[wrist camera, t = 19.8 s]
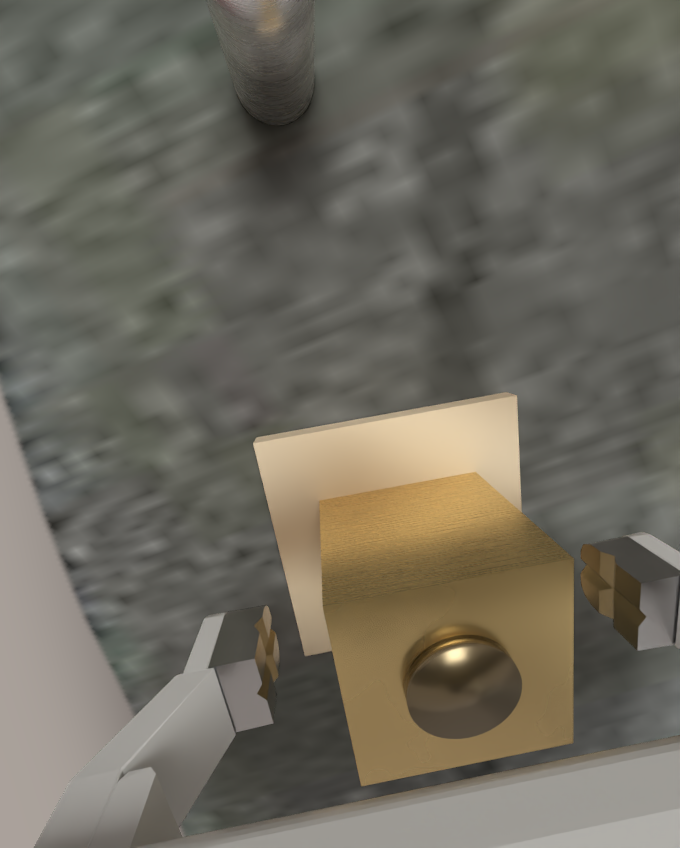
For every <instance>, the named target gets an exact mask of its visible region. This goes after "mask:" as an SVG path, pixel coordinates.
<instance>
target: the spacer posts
mask: <svg viewBox="0 0 680 848" xmlns="http://www.w3.org/2000/svg"><path fill="white" fill-rule="evenodd" d="M206 2H207V5H208V8H209V11H210V14H211V17H212V20H213V23H214V26H215V29H216V32H217V35H218V38H219V41H220V44H221V47H222V50H223V53H224V56H225V60H226V63H227V66H228V69H229V72H230V75H231V78H232V81H233V84H234V87H235V90H236V93H237V95H238V98H239V100H240V102H241V103H242V105H243V106H244V108H245V109H246V110H247V111H248V112H249V113H250V114H251V115H252V116H253V117H254V118H256V119H257V120H259V121H261V122H263V123H266V124H269V125H277V126H278V125H285V124H288V123H291V122H293V121H295V120H296V119H297V118H299V117H300V116H301V115H302V114H303V113H304V112H305V110H306V109H307V107H308V105H309V103H310V101H311V98H312V95H313V91H314V9H315V0H206Z"/></svg>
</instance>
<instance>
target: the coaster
mask: <svg viewBox="0 0 680 848" xmlns="http://www.w3.org/2000/svg"><path fill="white" fill-rule="evenodd" d="M253 445H254V449H255V453H256V457H257V461H258V465H259V469H260V473H261V477H262V482H263V486H264V490H265V494H266V498H267V502H268V506H269V510H270V514H271V518H272V523H273V527H274V531H275V535H276V539H277V543H278V547H279V551H280V555H281V560H282V564H283V568H284V572H285V576H286V580H287V584H288V588H289V592H290V597H291V601H292V605H293V609H294V613H295V617H296V621H297V625H298V629H299V633H300V638H301V642H302V646H303V650H304V654H305V656H309V655H314V654H319V653H324V652H329V651H332V648H331V643H330V639H329V634H328V629H327V625H326V620H325V616H324V611H323V603H322V571H321V540H320V508H319V500H325V499H330V498H336V497H341V496H347V495H352V494H357V493H363V492H368V491H374V490H379V489H385V488H390V487H395V486H401V485H406V484H412V483H417V482H423V481H428V480H433V479H439V478H444V477H450V476H455V475H461V474H466V473H471V472H476V473H478V474H479V475H480V476H481V477H482V478H483V479H484V480H486V481H487V482H488V483H489V484H490V485H491V486H492V487H493V488H495V489H496V490H497V491H498V492H499V493H500V494H501V495H502V496H504V497H505V498H506V499H507V500H508V501H509V502H510V503H512V504H513V505H514V506H515V507H516V508H517V509H518V510H519V511H521V512H522V510H521V486H520V461H519V437H518V413H517V395H514V394H511V393H508V392H505V393H499V394H494V395H488V396H483V397H477V398H472V399H466V400H461V401H455V402H450V403H444V404H439V405H433V406H428V407H422V408H417V409H411V410H406V411H400V412H395V413H389V414H384V415H378V416H373V417H367V418H361V419H356V420H350V421H345V422H339V423H334V424H328V425H323V426H317V427H312V428H306V429H301V430H295V431H290V432H284V433H279V434H273V435H268V436H262V437H257V438H256V439H255V441H254V443H253Z"/></svg>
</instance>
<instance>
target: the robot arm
mask: <svg viewBox="0 0 680 848" xmlns="http://www.w3.org/2000/svg"><path fill="white" fill-rule="evenodd" d="M581 559H582V560H583V562H584V563H585V564H586V566H585V568H584V569H583V571H582V572H581V586H582V589H583V591H584V594H585V596H586V598H587V599H588V601H589V602H590V604H591V605H592V606H593V607H594V608H595V609H596V610H597V611H598V612H599V613H601V614H603V615H605V616H607V617H610V618H612V619H613V626H614V628H615V629H616V630H617V631H618V632H619V633H620V634H621V635H622V636H623V637H624V638H625V639H626V640H627V641H628V642H629V643H630V644H631V645H632V646H633V647H634V648H635V649H636V650H637V651H640V650H646V649H652V648H658V647H664V646H670V645H675V647H677V648H679V649H680V552H678V551H677V550H675V549H674V548H672V547H670V546H669V545H667V544H665V543H664V542H662V541H660V540H659V539H657V538H655V537H654V536H652V535H650V534H648V533H644V532H639V533H635V534H630V535H625V536H622V537H618V538H613V539H608V540H603V541H598V542H593V543H588V544H584V545H583V547H582V549H581ZM271 620H272V617H271V614H270V610H269V607H268V606H266V605H264V606H258V607H252V608H246V609H240V610H234V611H228V612H224V613H218V614H213V615H208V616H207V617H206V618H205V619H204V620H203V622H202V625H201V628H200V630H199V633H198V635H197V638H196V641H195V643H194V646H193V648H192V651H191V653H190V656H189V659H188V661H187V664H186V666H185V669H184V672H183V674H179V675H176V676H175V677H174V678H173V679H172V680H171V681H170V682H169V683H168V684H167V685H166V686H165V687H164V688H163V689H162V690H161V691H160V692H159V693H158V694H157V695H156V696H155V697H154V698H153V699H152V700H151V701H150V702H149V703H148V704H147V705H146V706H145V707H144V708H143V709H142V710H141V711H140V712H139V713H138V714H137V715H136V716H135V717H134V718H133V719H132V720H131V721H130V722H129V723H128V724H127V725H126V726H125V727H124V728H123V729H122V730H121V731H120V732H119V733H118V734H117V735H116V736H115V737H114V738H113V739H112V740H111V741H110V742H109V743H108V744H107V745H106V746H105V747H104V748H103V749H101V750H100V751H99V753H97V755H96V756H94V757H93V758H92V760H91V761H90V762H88V763H87V764H86V765H85V766H84V767H83V768H82V769H81V770H80V771H79V772H78V773H77V774H76V775H75V776H74V777H73V778H72V779H71V780H70V782H69V784H68V786H67V787H66V789H65V791H64V793H63V795H62V797H61V798H60V800H59V802H58V804H57V806H56V808H55V809H54V811H53V813H52V815H51V817H50V819H49V821H48V822H47V824H46V826H45V828H44V830H43V831H42V833H41V835H40V837H39V839H38V841H37V843H36V844H35V846H34V848H680V735H678V736H673V737H668V738H663V739H658V740H654V741H649V742H644V743H639V744H634V745H629V746H625V747H620V748H615V749H610V750H605V751H601V752H596V753H591V754H586V755H581V756H576V757H571V758H566V759H562V760H557V761H552V762H547V763H542V764H537V765H532V766H527V767H522V768H518V769H513V770H508V771H503V772H498V773H493V774H488V775H483V776H478V777H474V778H469V779H464V780H459V781H454V782H449V783H444V784H439V785H435V786H430V787H425V788H420V789H415V790H410V791H405V792H400V793H396V794H391V795H386V796H381V797H376V798H371V799H366V800H362V801H357V802H352V803H347V804H342V805H337V806H332V807H328V808H323V809H318V810H313V811H308V812H303V813H298V814H294V815H289V816H284V817H279V818H274V819H269V820H264V821H259V822H255V823H250V824H245V825H240V826H235V827H230V828H225V829H221V830H216V831H211V832H206V833H201V834H196V835H191V836H187V837H182V835H181V833H180V830H179V827H180V826H181V824H182V822H183V821H184V819H185V817H186V816H187V814H188V812H189V811H190V809H191V807H192V806H193V804H194V803H195V801H196V799H197V798H198V796H199V794H200V793H201V791H202V789H203V788H204V786H205V785H206V783H207V781H208V780H209V778H210V776H211V775H212V773H213V771H214V770H215V768H216V766H217V765H218V763H219V762H220V760H221V758H222V757H223V755H224V753H225V752H226V750H227V748H228V747H229V745H230V744H231V742H232V740H233V739H234V737H235V735H236V734H235V732H239V731H243V730H248V729H252V728H256V727H261V726H265V725H269V724H273V723H274V714H275V705H276V696H277V693H276V690H275V686H274V681H275V680H276V679H277V677H278V676H279V665H280V663H279V646H278V640H277V636H276V633H275V632H274V631H273V630H272V629H270V627H271Z"/></svg>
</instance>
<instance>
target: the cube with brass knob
mask: <svg viewBox="0 0 680 848" xmlns="http://www.w3.org/2000/svg"><path fill="white" fill-rule="evenodd" d="M319 508H320V540H321V571H322V603H323V611H324V616H325V620H326V625H327V629H328V634H329V639H330V643H331V648H332V653H333V657H334V662H335V667H336V671H337V676H338V681H339V685H340V690H341V695H342V699H343V704H344V708H345V713H346V718H347V722H348V727H349V732H350V736H351V741H352V746H353V750H354V755H355V760H356V764H357V769H358V774H359V778H360V783H361V786H366V785H371V784H376V783H380V782H385V781H390V780H395V779H400V778H405V777H410V776H415V775H420V774H425V773H429V772H434V771H439V770H444V769H449V768H454V767H459V766H464V765H469V764H473V763H478V762H483V761H488V760H493V759H498V758H503V757H508V756H513V755H518V754H522V753H527V752H532V751H537V750H542V749H547V748H552V747H557V746H562V745H566V744H571V743H573V664H574V558H573V557H571V556H570V555H569V554H568V553H567V552H566V551H565V550H564V549H562V548H561V547H560V546H559V545H558V544H557V543H556V542H554V541H553V540H552V539H551V538H550V537H549V536H548V535H547V534H545V533H544V532H543V531H542V530H541V529H540V528H539V527H538V526H536V525H535V524H534V523H533V522H532V521H531V520H530V519H528V518H527V517H526V516H525V515H524V514H523V513H522V512H521V511H519V510H518V509H517V508H516V507H515V506H514V505H513V504H512V503H510V502H509V501H508V500H507V499H506V498H505V497H504V496H502V495H501V494H500V493H499V492H498V491H497V490H496V489H495V488H493V487H492V486H491V485H490V484H489V483H488V482H487V481H486V480H484V479H483V478H482V477H481V476H480V475H479V474H478V473H476V472H471V473H466V474H461V475H455V476H450V477H444V478H439V479H433V480H428V481H423V482H417V483H412V484H406V485H401V486H395V487H390V488H385V489H379V490H374V491H368V492H363V493H357V494H352V495H347V496H341V497H336V498H330V499H325V500H319Z"/></svg>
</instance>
